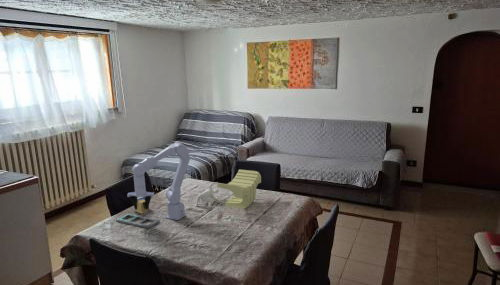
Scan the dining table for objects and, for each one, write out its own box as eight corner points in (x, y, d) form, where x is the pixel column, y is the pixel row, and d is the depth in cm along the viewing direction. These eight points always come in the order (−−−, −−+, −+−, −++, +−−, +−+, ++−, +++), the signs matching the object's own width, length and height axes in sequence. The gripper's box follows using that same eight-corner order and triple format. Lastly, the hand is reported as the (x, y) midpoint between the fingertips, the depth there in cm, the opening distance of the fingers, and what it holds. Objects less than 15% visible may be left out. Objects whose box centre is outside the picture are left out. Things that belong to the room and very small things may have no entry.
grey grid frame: (159, 222, 192) (159, 219, 191) (149, 228, 184) (148, 226, 183) (127, 215, 201) (127, 213, 201) (116, 221, 193) (116, 219, 193)
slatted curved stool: (242, 214, 199) (241, 186, 195) (218, 210, 205) (217, 183, 202) (261, 197, 226) (260, 171, 222) (239, 194, 232) (239, 169, 228)
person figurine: (207, 193, 205) (217, 179, 221) (189, 195, 209) (199, 181, 225) (214, 211, 209) (223, 196, 225) (196, 213, 213) (206, 198, 229)
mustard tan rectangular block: (147, 210, 190) (146, 200, 189) (141, 213, 186) (140, 203, 185) (142, 209, 192) (141, 199, 191) (136, 212, 189) (135, 201, 187)
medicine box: (138, 213, 205) (137, 199, 203) (133, 211, 207) (132, 198, 205) (149, 208, 211) (148, 195, 209) (144, 207, 213) (143, 194, 212)
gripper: (155, 183, 190) (157, 205, 193) (129, 183, 190) (132, 205, 193) (151, 187, 183) (152, 210, 186) (124, 187, 184) (127, 210, 186)
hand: (142, 208), depth 189 cm, fingers closed on mustard tan rectangular block, 6 cm apart
